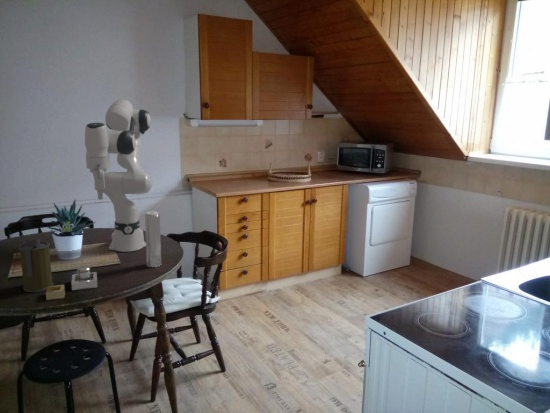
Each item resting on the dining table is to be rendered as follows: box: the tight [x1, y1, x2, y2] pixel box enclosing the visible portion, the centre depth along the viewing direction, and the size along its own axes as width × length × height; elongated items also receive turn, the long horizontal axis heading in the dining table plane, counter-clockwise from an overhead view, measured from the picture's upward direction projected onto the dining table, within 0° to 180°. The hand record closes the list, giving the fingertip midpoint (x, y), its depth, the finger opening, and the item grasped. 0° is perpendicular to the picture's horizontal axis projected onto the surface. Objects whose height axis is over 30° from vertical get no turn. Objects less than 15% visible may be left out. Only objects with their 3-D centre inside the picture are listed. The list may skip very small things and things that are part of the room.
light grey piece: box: [144, 210, 162, 268], centre depth 192 cm, size 6×6×25 cm
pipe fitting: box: [76, 265, 91, 281], centre depth 172 cm, size 5×5×7 cm
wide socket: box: [71, 271, 98, 291], centre depth 172 cm, size 9×9×3 cm
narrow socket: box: [45, 284, 66, 301], centre depth 161 cm, size 6×6×3 cm
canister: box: [18, 236, 54, 293], centre depth 166 cm, size 11×10×20 cm
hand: (100, 196), depth 176 cm, fingers open, 8 cm apart
